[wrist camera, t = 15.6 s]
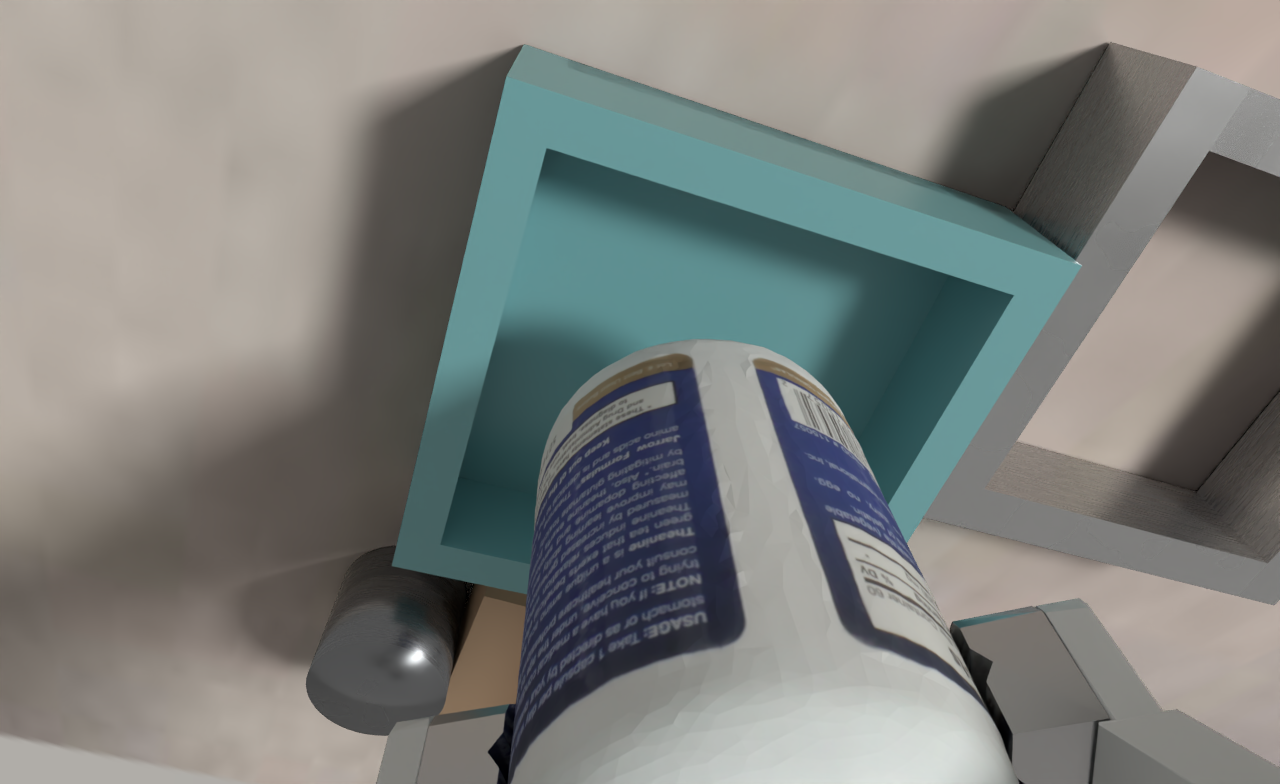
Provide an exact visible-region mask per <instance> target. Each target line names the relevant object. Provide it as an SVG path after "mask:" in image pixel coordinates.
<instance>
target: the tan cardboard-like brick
mask: <svg viewBox="0 0 1280 784" xmlns="http://www.w3.org/2000/svg"><path fill="white" fill-rule="evenodd" d="M526 598H527V594H523V593H518V592H513V591H508V590H504V589H499V588H494V587H489V586H485V585H480V584H474V587H473V589H472V592H471V594H470V597H469V599H468V602H467V604H466V607H465V609H464V612H463V616H462V621H461V626H460V631H459V636H458V641H457V646H456V651H455V656H454V661H453V666H452V671H451V676H450V681H449V686H448V691H447V696H446V701H445V705H444V707H443V709H442V711H441V712H440V714H439V715H442V714H448V713H455V712H461V711H468V710H474V709H481V708H487V707H494V706H500V705H506V704H516V698H517V689H518V676H519V668H520V660H521V649H522V640H523V631H524V622H525V612H526Z"/></svg>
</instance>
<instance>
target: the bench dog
mask: <svg viewBox="0 0 1280 784" xmlns="http://www.w3.org/2000/svg"><path fill="white" fill-rule="evenodd" d="M395 550H396V547H387V548H381V549H377V550H374V551H371V552H369V553H367V554H365V555H363V556H361V557H360V558H359V559H357V560H356V561H355V562H354V563H353V564H352V565H351V567H350V568H349V569H348V571H347V573H346V575H345V578H344V581H343V583H342V586H341V588H340V591H339V594H338V596H337V599H336V601H335V604H334V607H333V609H332V612H331V614H330V617H329V620H328V622H327V625H326V627H325V630H324V633H323V635H322V638H321V640H320V643H319V646H318V648H317V651H316V654H315V656H314V659H313V661H312V664H311V667H310V669H309V672H308V675H307V678H306V688H307V693H308V696H309V698H310V700H311V702H312V704H313V705H314V706H315V708H316V709H317V710H318V711H319V712H320V713H321V714H322V715H324V716H325V717H326V718H327V719H329V720H330V721H332V722H334V723H335V724H337V725H339V726H341V727H344V728H346V729H349V730H352V731H355V732H359V733H364V734H370V735H382V736H386V735H389V734H390V732H391V731H392V729H393V727H394V726H395V724H396V723H397V722H401V721H407V720H413V719H419V718H425V717H431V716H435V715H439V714H440V712H441V711H442V709H443V707H444V705H445V701H446V696H447V691H448V686H449V681H450V676H451V671H452V666H453V661H454V656H455V651H456V646H457V641H458V636H459V631H460V626H461V621H462V616H463V611H464V606H465V601H466V590H465V586H464V583H463V581H461V580H456V579H451V578H446V577H442V576H437V575H432V574H427V573H423V572H418V571H413V570H408V569H403V568H399V567H394V566H392V563H393V558H394V554H395Z"/></svg>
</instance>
